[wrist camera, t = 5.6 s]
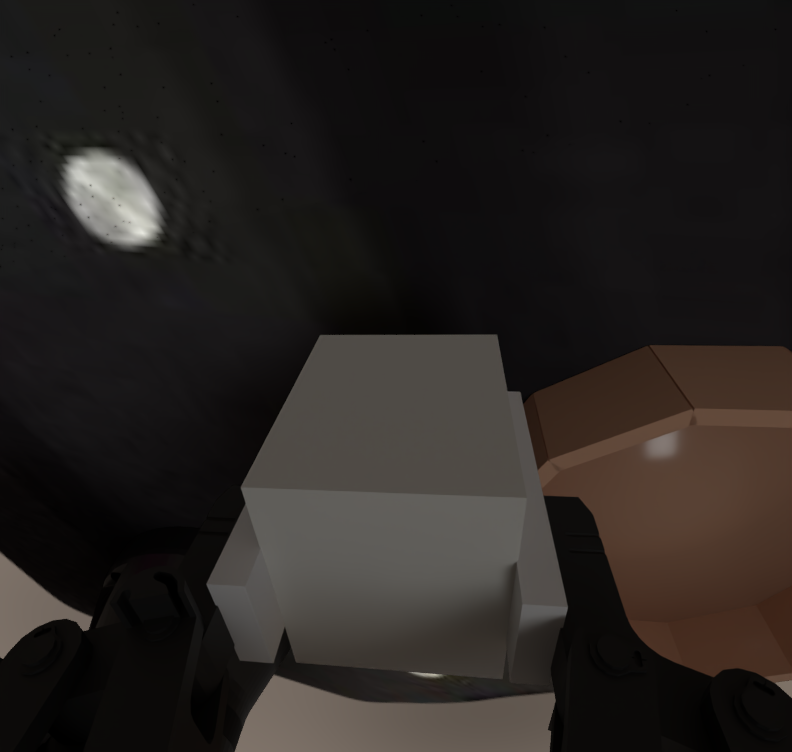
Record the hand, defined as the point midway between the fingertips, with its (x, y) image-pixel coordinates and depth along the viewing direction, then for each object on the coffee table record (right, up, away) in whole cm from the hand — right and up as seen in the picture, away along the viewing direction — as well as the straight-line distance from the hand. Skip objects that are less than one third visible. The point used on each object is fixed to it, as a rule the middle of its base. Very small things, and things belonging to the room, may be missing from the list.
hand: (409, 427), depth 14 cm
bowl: (+15, -6, +13) cm, 21 cm away
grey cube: (0, 0, 0) cm, 0 cm away
